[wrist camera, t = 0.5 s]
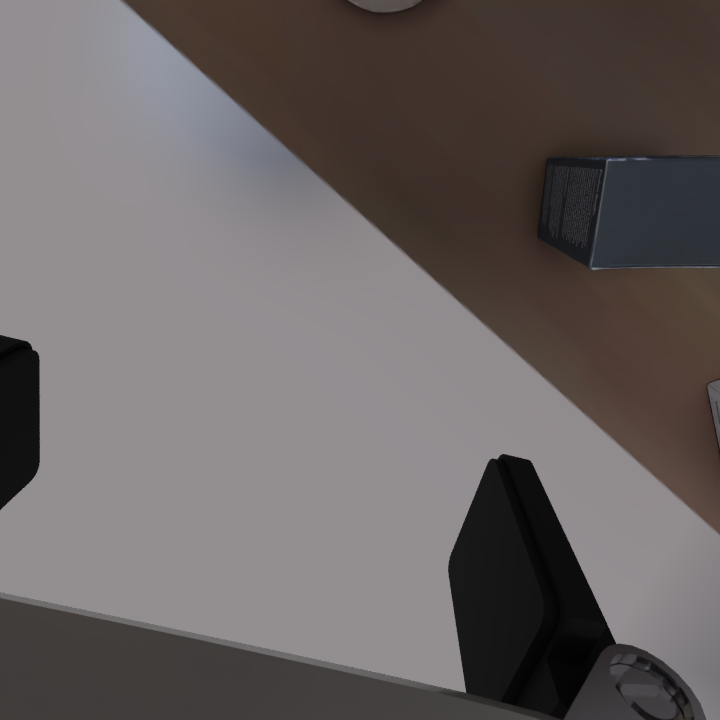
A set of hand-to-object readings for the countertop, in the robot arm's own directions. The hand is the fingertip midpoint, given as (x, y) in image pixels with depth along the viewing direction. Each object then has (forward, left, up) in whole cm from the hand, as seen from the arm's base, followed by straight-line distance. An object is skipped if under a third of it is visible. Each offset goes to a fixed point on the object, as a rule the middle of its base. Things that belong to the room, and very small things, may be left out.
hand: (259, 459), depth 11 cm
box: (-10, +15, -29) cm, 34 cm away
